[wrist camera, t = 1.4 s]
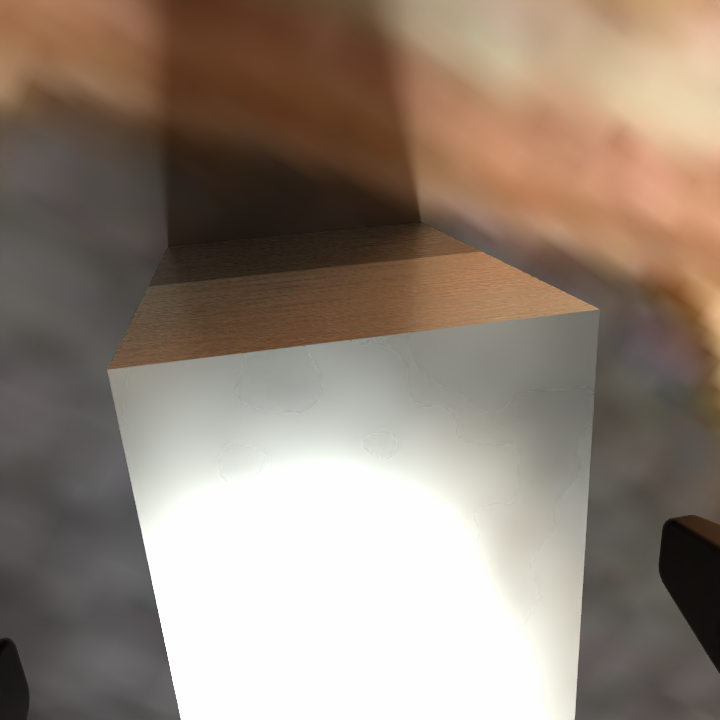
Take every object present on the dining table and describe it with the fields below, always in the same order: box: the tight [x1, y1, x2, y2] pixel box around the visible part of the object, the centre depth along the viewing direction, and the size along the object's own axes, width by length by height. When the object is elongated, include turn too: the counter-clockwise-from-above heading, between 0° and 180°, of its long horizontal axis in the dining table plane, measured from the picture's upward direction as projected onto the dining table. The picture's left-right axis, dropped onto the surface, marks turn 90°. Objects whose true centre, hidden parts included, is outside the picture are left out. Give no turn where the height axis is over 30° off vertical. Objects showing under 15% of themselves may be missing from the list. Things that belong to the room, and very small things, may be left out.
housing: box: [107, 222, 599, 720], centre depth 11 cm, size 8×5×7 cm, turn 3°
